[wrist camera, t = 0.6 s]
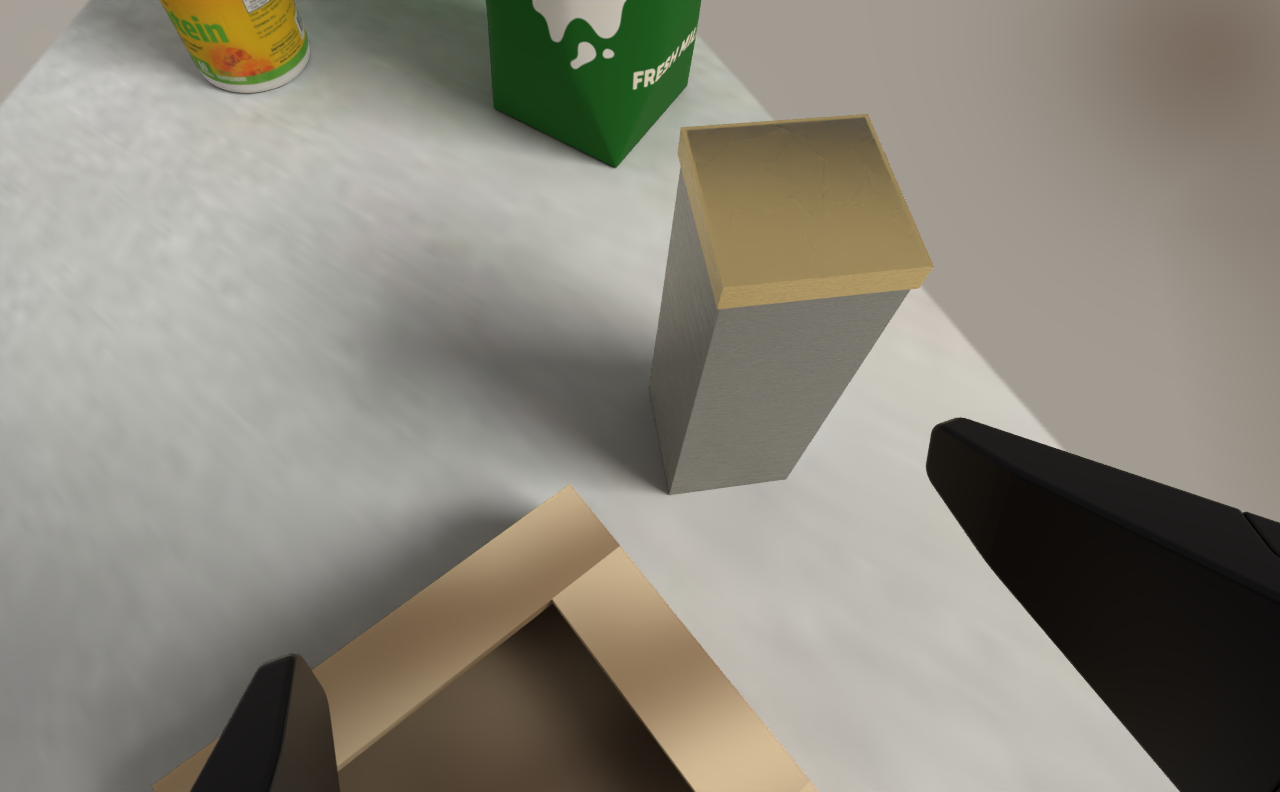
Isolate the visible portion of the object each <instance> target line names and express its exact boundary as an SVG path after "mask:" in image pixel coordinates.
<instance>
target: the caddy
mask: <svg viewBox="0 0 1280 792" xmlns="http://www.w3.org/2000/svg"><path fill="white" fill-rule="evenodd" d="M311 671H312V672H313V674H314V675H315V676H316V678H317V679H318V681H319V682H320V684H321V685H322V687H323V689H324V691H325V693H326V696H327V699H328V703H329V709H330V716H331V724H332V732H333V739H334V747H335V755H336V762H337V770H338V778H339V785H340V792H819V791H818V790H817V789H816V787H815V786H814V785H813V784H812V783H811V781H810V780H809V779H808V778H807V776H806V775H805V774H804V773H803V771H802V770H801V769H800V768H799V766H798V765H797V764H796V763H795V761H794V760H793V759H792V758H791V757H790V755H789V754H788V753H787V752H786V750H785V749H784V748H783V747H782V745H781V744H780V743H779V742H778V740H777V739H776V738H775V737H774V736H773V734H772V733H771V732H770V731H769V729H768V728H767V727H766V726H765V724H764V723H763V722H762V721H761V719H760V718H759V717H758V716H757V714H756V713H755V712H754V711H753V710H752V708H751V707H750V706H749V705H748V703H747V702H746V701H745V700H744V698H743V697H742V696H741V695H740V693H739V692H738V691H737V690H736V689H735V687H734V686H733V685H732V684H731V682H730V681H729V680H728V679H727V677H726V676H725V675H724V674H723V672H722V671H721V670H720V669H719V667H718V666H717V665H716V664H715V663H714V661H713V660H712V659H711V658H710V656H709V655H708V654H707V653H706V651H705V650H704V649H703V648H702V646H701V645H700V644H699V643H698V642H697V640H696V639H695V638H694V637H693V635H692V634H691V633H690V632H689V630H688V629H687V628H686V627H685V625H684V624H683V623H682V622H681V621H680V619H679V618H678V617H677V616H676V614H675V613H674V612H673V611H672V609H671V608H670V607H669V606H668V604H667V603H666V602H665V601H664V599H663V598H662V597H661V596H660V595H659V593H658V592H657V591H656V590H655V588H654V587H653V586H652V585H651V583H650V582H649V581H648V580H647V578H646V577H645V576H644V575H643V574H642V572H641V571H640V570H639V569H638V567H637V566H636V565H635V564H634V562H633V561H632V560H631V559H630V557H629V556H628V555H627V554H626V552H625V551H624V550H623V549H622V548H621V546H620V545H619V544H618V543H617V541H616V540H615V539H614V538H613V536H612V535H611V534H610V533H609V531H608V530H607V529H606V528H605V527H604V525H603V524H602V523H601V522H600V520H599V519H598V518H597V517H596V515H595V514H594V513H593V512H592V510H591V509H590V508H589V507H588V505H587V504H586V503H585V502H584V501H583V499H582V498H581V497H580V496H579V494H578V493H577V492H576V491H575V489H574V488H573V487H572V486H571V484H569V485H567V486H566V487H565V488H563V489H562V490H560V491H559V492H558V493H556V494H555V495H554V496H552V497H551V498H549V499H548V500H547V501H545V502H544V503H542V504H541V505H540V506H538V507H537V508H536V509H534V510H533V511H531V512H530V513H529V514H527V515H526V516H524V517H523V518H522V519H520V520H519V521H518V522H516V523H515V524H513V525H512V526H511V527H509V528H508V529H506V530H505V531H504V532H502V533H501V534H500V535H498V536H497V537H495V538H494V539H493V540H491V541H490V542H488V543H487V544H486V545H484V546H483V547H482V548H480V549H479V550H477V551H476V552H475V553H473V554H472V555H470V556H469V557H468V558H466V559H465V560H464V561H462V562H461V563H459V564H458V565H457V566H455V567H454V568H452V569H451V570H450V571H448V572H447V573H446V574H444V575H443V576H441V577H440V578H439V579H437V580H436V581H434V582H433V583H432V584H430V585H429V586H428V587H426V588H425V589H423V590H422V591H421V592H419V593H418V594H416V595H415V596H414V597H412V598H411V599H410V600H408V601H407V602H405V603H404V604H403V605H401V606H400V607H398V608H397V609H396V610H394V611H393V612H392V613H390V614H389V615H387V616H386V617H385V618H383V619H382V620H380V621H379V622H378V623H376V624H375V625H374V626H372V627H371V628H369V629H368V630H367V631H365V632H364V633H362V634H361V635H360V636H358V637H357V638H355V639H354V640H353V641H351V642H350V643H349V644H347V645H346V646H344V647H343V648H342V649H340V650H339V651H337V652H336V653H335V654H333V655H332V656H331V657H329V658H328V659H326V660H325V661H324V662H322V663H321V664H319V665H318V666H317V667H315V668H314V669H313V670H311ZM219 738H220V737H218V738H217V739H216V740H214V741H213V742H211V743H210V744H209V745H207V746H206V747H205V748H203V749H202V750H200V751H199V752H198V753H196V754H195V755H193V756H192V757H191V758H189V759H188V760H187V761H185V762H184V763H182V764H181V765H180V766H178V767H177V768H175V769H174V770H173V771H171V772H170V773H169V774H167V775H166V776H164V777H163V778H162V779H160V780H159V781H157V782H156V783H155V784H153V785H152V789H153V791H154V792H190V790H191V788H192V786H193V784H194V783H195V781H196V779H197V777H198V775H199V774H200V772H201V770H202V768H203V766H204V765H205V763H206V761H207V759H208V757H209V756H210V754H211V752H212V750H213V748H214V747H215V745H216V743H217V741H218V739H219Z"/></svg>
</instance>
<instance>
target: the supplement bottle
mask: <svg viewBox="0 0 1280 792" xmlns="http://www.w3.org/2000/svg"><path fill="white" fill-rule="evenodd" d="M160 1H161V3H162V5H163V7H164V8H165V10H166V12H167V14H168V16H169V17H170V19H171V21H172V23H173V25H174V26H175V28H176V30H177V32H178V34H179V36H180V37H181V39H182V41H183V43H184V45H185V46H186V48H187V50H188V52H189V54H190V55H191V57H192V59H193V61H194V63H195V64H196V66H197V68H198V69H199V71H200V72H201V74H202V75H203V76H204V77H205V78H206V79H207V80H208V81H209V82H210V83H212V84H213V85H215V86H217V87H219V88H222V89H225V90H228V91H232V92H239V93H256V92H263V91H267V90H271V89H275V88H278V87H280V86H283V85H285V84H287V83H288V82H290V81H291V80H293V79H294V78H295V77H296V76H298V75H299V74H300V73H301V72H302V70H303V69H304V68H305V66H306V64H307V62H308V60H309V56H310V44H309V40H308V37H307V34H306V31H305V29H304V26H303V23H302V21H301V18H300V16H299V13H298V11H297V8H296V6H295V3H294V1H293V0H160Z"/></svg>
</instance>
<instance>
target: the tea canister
mask: <svg viewBox="0 0 1280 792" xmlns="http://www.w3.org/2000/svg"><path fill="white" fill-rule="evenodd" d="M678 157H679V161H680V165H681V168H680V175H679V182H678V189H677V196H676V203H675V210H674V217H673V224H672V231H671V238H670V245H669V252H668V259H667V266H666V273H665V280H664V287H663V294H662V301H661V308H660V315H659V322H658V329H657V336H656V343H655V350H654V357H653V364H652V371H651V378H650V385H649V391H650V396H651V402H652V407H653V412H654V417H655V423H656V428H657V433H658V438H659V444H660V449H661V454H662V459H663V465H664V470H665V475H666V480H667V486H668V491H669V495H673V494H680V493H687V492H695V491H702V490H709V489H717V488H724V487H731V486H739V485H746V484H753V483H760V482H768V481H775V480H782V479H787V477H788V475H789V474H790V472H791V471H792V469H793V468H794V466H795V465H796V463H797V462H798V460H799V459H800V457H801V456H802V454H803V453H804V451H805V450H806V448H807V446H808V445H809V443H810V442H811V440H812V439H813V437H814V436H815V434H816V433H817V431H818V430H819V428H820V427H821V425H822V424H823V422H824V421H825V419H826V417H827V416H828V414H829V413H830V411H831V410H832V408H833V407H834V405H835V404H836V402H837V401H838V399H839V398H840V396H841V395H842V393H843V392H844V390H845V389H846V387H847V385H848V384H849V382H850V381H851V379H852V378H853V376H854V375H855V373H856V372H857V370H858V369H859V367H860V366H861V364H862V363H863V361H864V360H865V358H866V356H867V355H868V353H869V352H870V350H871V349H872V347H873V346H874V344H875V343H876V341H877V340H878V338H879V337H880V335H881V334H882V332H883V331H884V329H885V327H886V326H887V324H888V323H889V321H890V320H891V318H892V317H893V315H894V314H895V312H896V311H897V309H898V308H899V306H900V305H901V303H902V302H903V300H904V298H905V297H906V295H907V294H908V292H909V291H910V289H917V288H919V287H920V286H921V284H922V283H923V281H924V280H925V278H926V277H927V275H928V274H929V272H930V271H931V269H932V268H933V264H932V261H931V259H930V257H929V255H928V252H927V250H926V248H925V246H924V243H923V241H922V239H921V236H920V234H919V231H918V229H917V227H916V224H915V222H914V220H913V218H912V215H911V213H910V211H909V208H908V206H907V204H906V201H905V199H904V197H903V194H902V192H901V190H900V188H899V185H898V183H897V181H896V178H895V176H894V174H893V171H892V169H891V167H890V164H889V162H888V160H887V157H886V155H885V153H884V151H883V148H882V146H881V144H880V141H879V139H878V137H877V134H876V132H875V130H874V127H873V125H872V123H871V120H870V118H869V116H868V114H862V115H848V116H835V117H820V118H807V119H793V120H779V121H765V122H751V123H737V124H724V125H710V126H696V127H682V128H681V131H680V139H679V146H678Z"/></svg>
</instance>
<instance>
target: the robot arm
mask: <svg viewBox="0 0 1280 792" xmlns="http://www.w3.org/2000/svg"><path fill="white" fill-rule="evenodd" d="M926 471H927V475H928V478H929V480H930V482H931V483H932V485H933V486H934V488H935V489H936V491H937V492H938V494H939V495H940V497H941V498H942V499H943V501H944V502H945V504H946V505H947V507H948V508H949V510H950V511H951V513H952V514H953V515H954V517H955V518H956V520H957V521H958V523H959V524H960V526H961V527H962V529H963V530H964V531H965V533H966V534H967V536H968V537H969V539H970V540H971V542H972V543H973V545H974V546H975V547H976V549H977V550H978V552H979V553H980V554H981V556H982V557H983V559H984V560H985V561H986V563H987V564H988V565H989V566H990V568H991V569H992V570H993V571H994V573H995V574H996V575H997V576H998V578H999V579H1000V580H1001V581H1002V582H1003V584H1004V585H1005V586H1006V587H1007V588H1008V589H1009V591H1010V592H1011V593H1012V594H1013V595H1014V597H1015V598H1016V599H1017V600H1018V601H1019V602H1020V604H1021V605H1022V606H1023V607H1024V608H1025V610H1026V611H1027V612H1028V613H1029V614H1030V615H1031V617H1032V618H1033V619H1034V620H1035V621H1036V623H1037V624H1038V625H1039V626H1040V627H1041V628H1042V630H1043V631H1044V632H1045V633H1046V634H1047V635H1048V637H1049V638H1050V639H1051V640H1052V641H1053V643H1054V644H1055V645H1056V646H1057V647H1058V648H1059V650H1060V651H1061V652H1062V653H1063V654H1064V656H1065V657H1066V658H1067V659H1068V660H1069V661H1070V663H1071V664H1072V665H1073V666H1074V667H1075V669H1076V670H1077V671H1078V672H1079V673H1080V674H1081V676H1082V677H1083V678H1084V679H1085V680H1086V682H1087V683H1088V684H1089V685H1090V686H1091V687H1092V689H1093V690H1094V691H1095V692H1096V693H1097V694H1098V696H1099V697H1100V698H1101V699H1102V700H1103V702H1104V703H1105V704H1106V705H1107V706H1108V707H1109V709H1110V710H1111V711H1112V712H1113V713H1114V715H1115V716H1116V717H1117V718H1118V719H1119V720H1120V722H1121V723H1122V724H1123V725H1124V726H1125V728H1126V729H1127V730H1128V731H1129V732H1130V733H1131V735H1132V736H1133V737H1134V738H1135V739H1136V741H1137V742H1138V743H1139V744H1140V745H1141V746H1142V748H1143V749H1144V750H1145V751H1146V752H1147V753H1148V755H1149V756H1150V757H1151V758H1152V759H1153V761H1154V762H1155V763H1156V764H1157V765H1158V766H1159V768H1160V769H1161V770H1162V771H1163V772H1164V774H1165V775H1166V776H1167V777H1168V778H1169V779H1170V781H1171V782H1172V783H1173V784H1174V785H1175V787H1176V788H1177V789H1178V790H1179V791H1180V792H1280V523H1279V522H1276V521H1273V520H1270V519H1267V518H1264V517H1261V516H1258V515H1255V514H1252V513H1249V512H1243V513H1242V512H1241V511H1240V510H1239V509H1236V508H1234V507H1231V506H1228V505H1224V504H1221V503H1219V502H1215V501H1212V500H1210V499H1206V498H1203V497H1200V496H1197V495H1195V494H1191V493H1189V492H1186V491H1182V490H1180V489H1177V488H1174V487H1171V486H1168V485H1164V484H1162V483H1159V482H1156V481H1153V480H1150V479H1146V478H1143V477H1140V476H1137V475H1134V474H1131V473H1128V472H1125V471H1122V470H1119V469H1116V468H1113V467H1110V466H1107V465H1104V464H1101V463H1098V462H1095V461H1092V460H1089V459H1086V458H1083V457H1080V456H1077V455H1074V454H1071V453H1068V452H1065V451H1062V450H1059V449H1056V448H1053V447H1050V446H1047V445H1044V444H1041V443H1038V442H1035V441H1032V440H1029V439H1026V438H1023V437H1020V436H1017V435H1014V434H1011V433H1008V432H1005V431H1002V430H999V429H996V428H993V427H990V426H987V425H984V424H981V423H978V422H975V421H972V420H969V419H966V418H961V417H960V418H954V419H951V420H948V421H945V422H943V423H940V424H937V425H936V426H935V427H934V428H933V430H932V432H931V437H930V443H929V449H928V455H927V461H926ZM190 792H340V785H339V778H338V770H337V762H336V755H335V747H334V739H333V732H332V724H331V716H330V709H329V703H328V699H327V696H326V693H325V691H324V689H323V687H322V685H321V684H320V682H319V681H318V679H317V678H316V676H315V675H314V674H313V672H312V671H311V669H310V668H309V666H308V665H307V663H306V662H305V660H304V659H303V658H302V656H300V655H299V654H297V653H290V654H287V655H284V656H282V657H279V658H276V659H273V660H270V661H268V662H265V663H264V664H262V665H261V666H260V667H259V668H258V670H257V671H256V673H255V675H254V676H253V678H252V680H251V682H250V684H249V685H248V687H247V689H246V691H245V693H244V694H243V696H242V698H241V700H240V702H239V703H238V705H237V707H236V709H235V711H234V712H233V714H232V716H231V718H230V720H229V721H228V723H227V725H226V727H225V729H224V730H223V732H222V734H221V736H220V738H219V739H218V741H217V743H216V745H215V747H214V748H213V750H212V752H211V754H210V756H209V757H208V759H207V761H206V763H205V765H204V766H203V768H202V770H201V772H200V774H199V775H198V777H197V779H196V781H195V783H194V784H193V786H192V788H191V790H190Z"/></svg>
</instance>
